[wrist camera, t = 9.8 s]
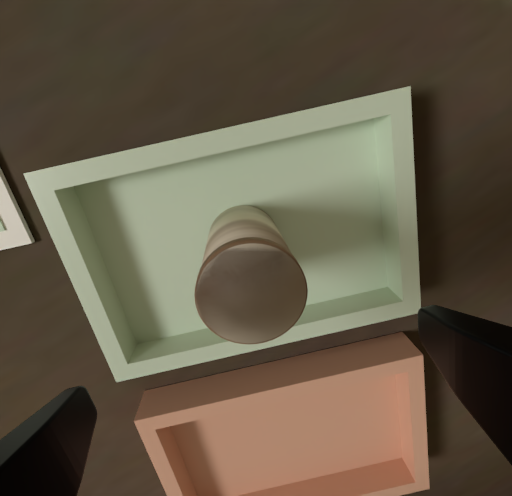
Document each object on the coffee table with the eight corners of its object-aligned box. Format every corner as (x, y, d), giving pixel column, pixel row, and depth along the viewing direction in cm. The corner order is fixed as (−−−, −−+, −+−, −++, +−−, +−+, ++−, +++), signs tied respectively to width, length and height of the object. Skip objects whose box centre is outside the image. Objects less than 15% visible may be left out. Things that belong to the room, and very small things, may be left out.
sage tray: (399, 293, 21) (421, 312, 18) (129, 354, 21) (116, 382, 18) (385, 94, 17) (410, 85, 14) (52, 169, 17) (23, 173, 14)
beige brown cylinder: (285, 264, 19) (315, 330, 12) (217, 279, 19) (210, 354, 12) (271, 196, 17) (297, 230, 11) (199, 213, 17) (180, 256, 11)
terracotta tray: (411, 456, 26) (429, 488, 23) (192, 506, 25) (188, 544, 23) (402, 331, 22) (423, 354, 19) (144, 390, 22) (133, 421, 19)
